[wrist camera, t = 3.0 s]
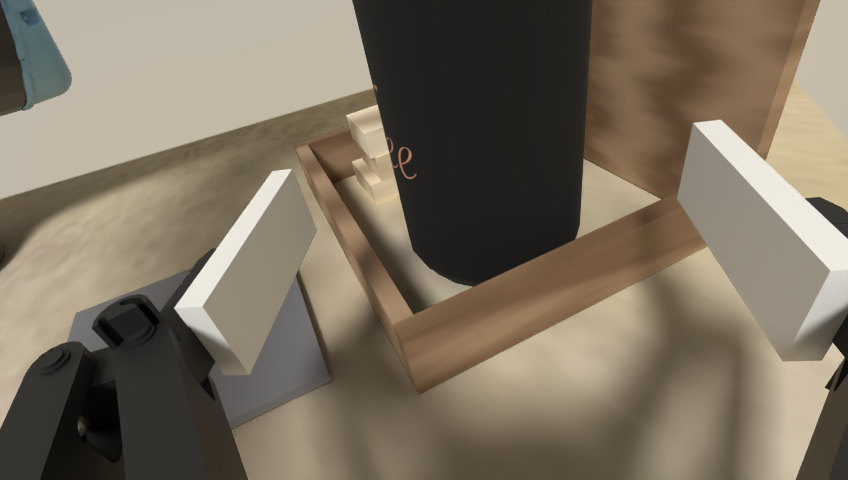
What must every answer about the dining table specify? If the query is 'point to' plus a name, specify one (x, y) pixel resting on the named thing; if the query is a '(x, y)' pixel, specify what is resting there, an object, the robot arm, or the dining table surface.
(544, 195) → the coffee jar
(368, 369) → the dining table surface
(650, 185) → the wooden hinged box
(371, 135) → the offcut stack
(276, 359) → the charcoal mat
